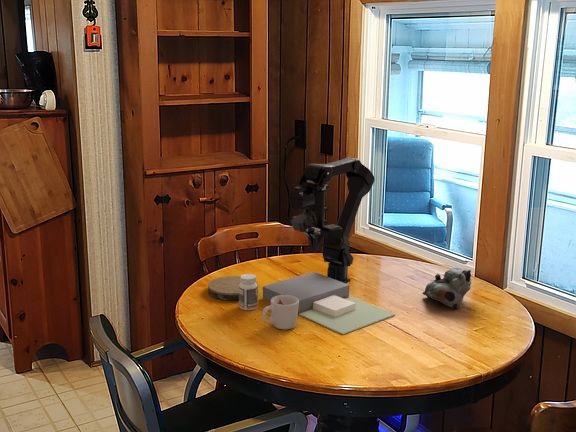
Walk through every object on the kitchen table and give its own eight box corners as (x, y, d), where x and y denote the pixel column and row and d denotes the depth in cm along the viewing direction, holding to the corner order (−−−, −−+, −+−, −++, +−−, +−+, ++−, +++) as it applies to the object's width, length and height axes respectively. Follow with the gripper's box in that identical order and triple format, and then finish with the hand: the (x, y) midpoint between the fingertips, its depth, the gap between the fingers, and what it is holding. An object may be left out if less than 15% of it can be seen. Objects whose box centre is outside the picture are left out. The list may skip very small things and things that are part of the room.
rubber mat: (351, 297, 218) (351, 296, 218) (395, 315, 205) (395, 314, 205) (299, 315, 204) (299, 313, 204) (343, 335, 191) (343, 333, 191)
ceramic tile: (333, 300, 214) (333, 294, 214) (355, 309, 208) (355, 303, 208) (313, 308, 208) (313, 302, 208) (335, 317, 202) (335, 310, 201)
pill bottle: (259, 304, 212) (259, 273, 209) (256, 311, 206) (256, 280, 204) (240, 303, 212) (240, 272, 210) (237, 310, 207) (237, 279, 204)
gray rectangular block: (314, 283, 230) (314, 271, 229) (348, 296, 219) (349, 285, 218) (262, 298, 216) (262, 286, 215) (296, 314, 205) (297, 301, 204)
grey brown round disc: (259, 285, 229) (259, 276, 228) (255, 303, 213) (255, 294, 212) (211, 283, 229) (211, 275, 228) (204, 301, 214) (204, 292, 213)
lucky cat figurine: (421, 293, 223) (441, 255, 222) (455, 311, 221) (476, 273, 220) (421, 296, 208) (443, 255, 208) (458, 316, 206) (480, 275, 206)
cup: (268, 336, 190) (269, 308, 188) (256, 325, 196) (256, 298, 194) (303, 329, 194) (304, 302, 192) (290, 318, 201) (290, 293, 199)
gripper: (276, 202, 218) (276, 249, 222) (317, 214, 204) (316, 264, 208) (303, 197, 225) (301, 243, 229) (344, 208, 212) (342, 257, 215)
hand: (314, 252), depth 220 cm, fingers closed
